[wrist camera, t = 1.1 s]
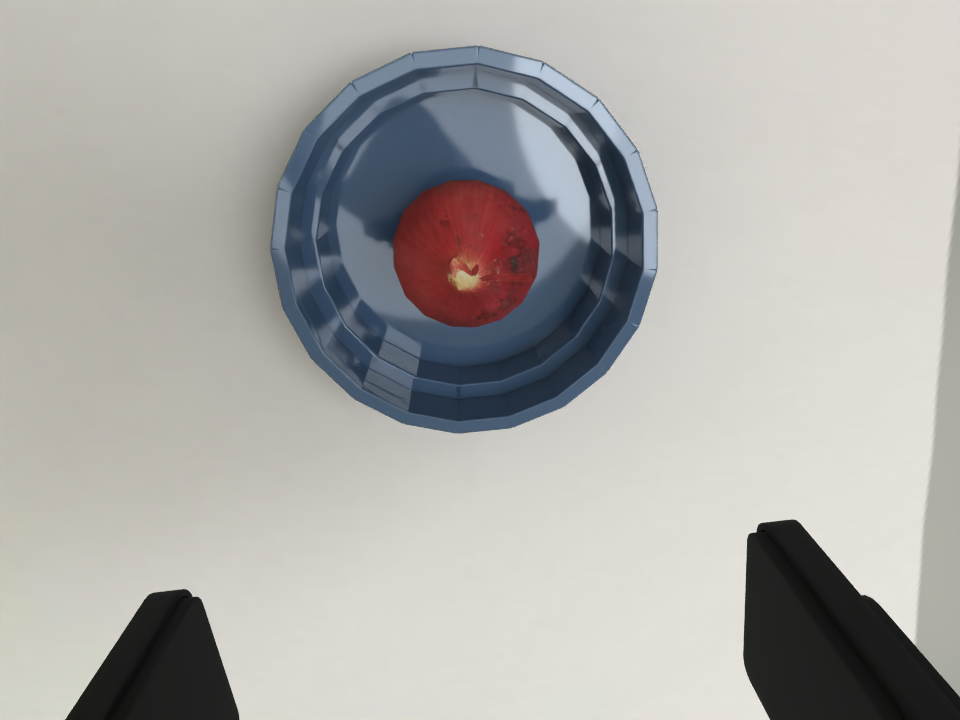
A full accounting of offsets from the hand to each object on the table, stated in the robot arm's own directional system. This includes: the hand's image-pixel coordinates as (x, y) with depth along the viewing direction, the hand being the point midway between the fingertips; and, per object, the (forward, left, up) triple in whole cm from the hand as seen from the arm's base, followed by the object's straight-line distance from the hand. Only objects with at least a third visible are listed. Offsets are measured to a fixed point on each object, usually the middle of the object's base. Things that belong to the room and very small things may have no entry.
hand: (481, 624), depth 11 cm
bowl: (-3, 0, -21) cm, 21 cm away
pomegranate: (-3, 0, -21) cm, 21 cm away
